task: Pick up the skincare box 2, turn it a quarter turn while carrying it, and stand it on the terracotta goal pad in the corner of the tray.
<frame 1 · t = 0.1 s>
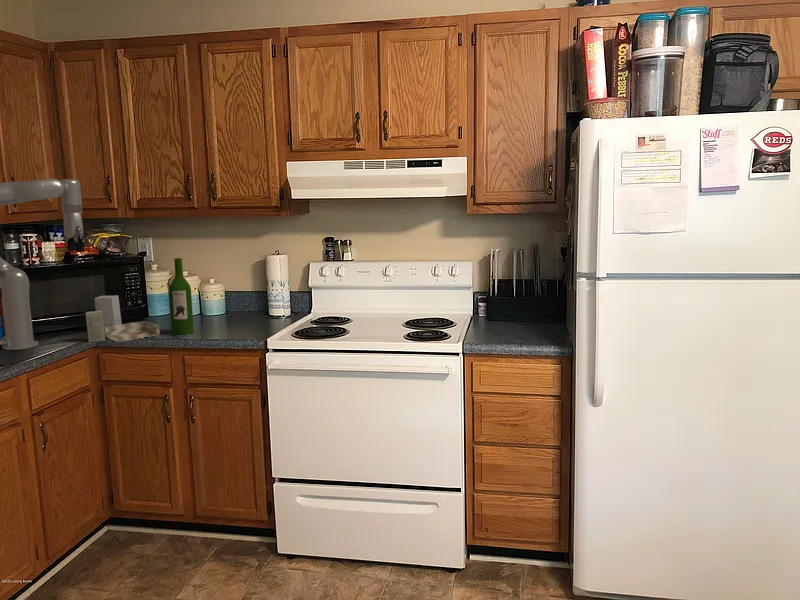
hand: (76, 251, 282), 37 cm above the table, tool pointing down, fingers open, 9 cm apart
tray: (132, 336, 289), on the table
skincare box: (109, 331, 301), on the table
skincare box 2: (96, 341, 281), on the table
wine bottle: (183, 334, 293), on the table
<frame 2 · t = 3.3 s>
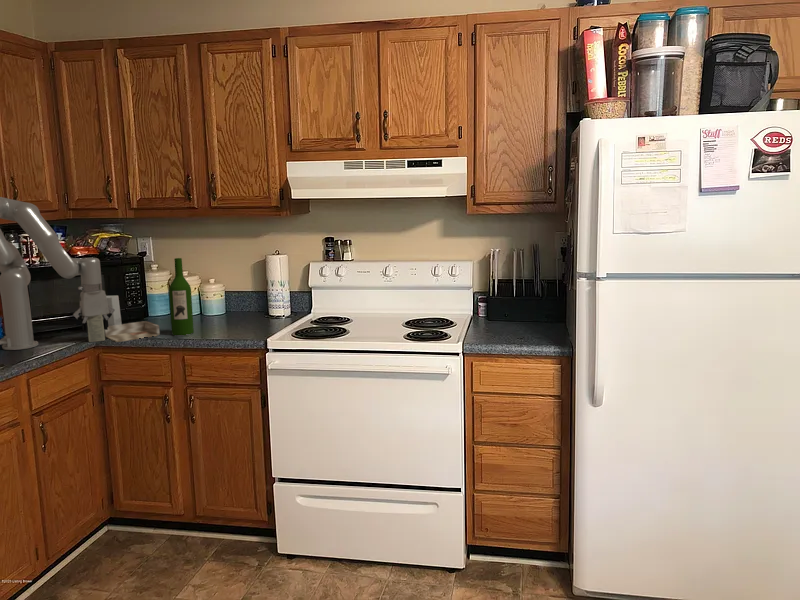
hand: (95, 330, 281), 4 cm above the table, tool pointing down, fingers closed on skincare box 2, 7 cm apart
skincare box 2: (96, 341, 281), on the table, touching gripper
everything else where it was.
when the fingers open (6 cm above the table, at t = 8.9 s): skincare box 2 drops 1 cm, resting on tray.
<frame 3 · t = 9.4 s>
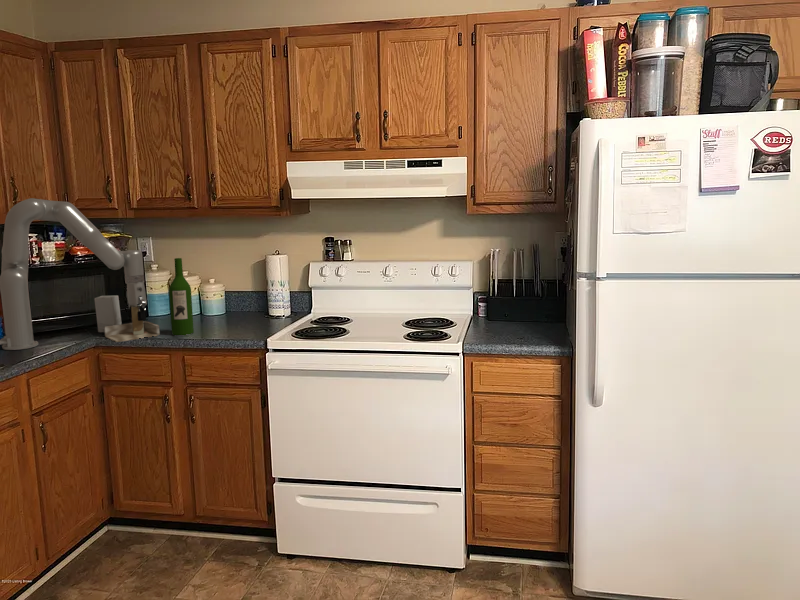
hand: (137, 318, 291), 7 cm above the table, tool pointing down, fingers open, 9 cm apart
skincare box 2: (138, 333, 292), resting on tray
everything else where it was.
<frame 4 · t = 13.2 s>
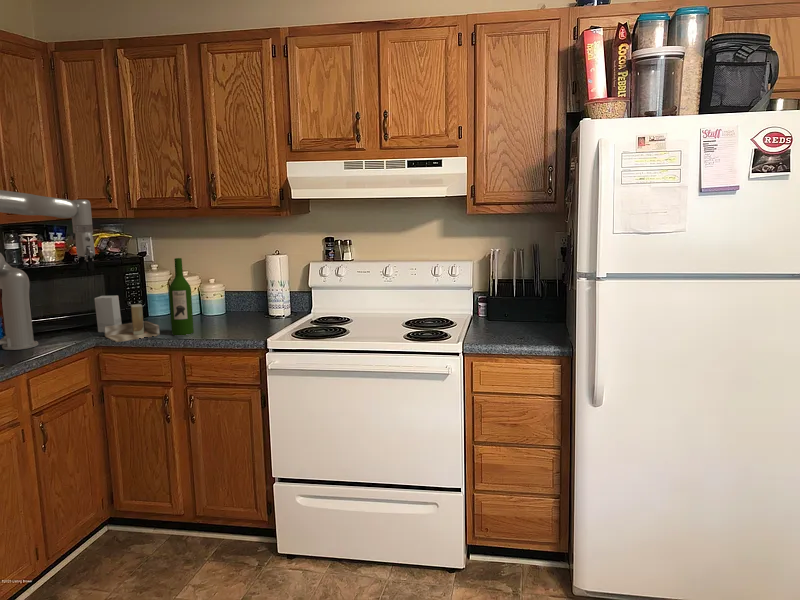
hand: (86, 270, 287), 28 cm above the table, tool pointing down, fingers open, 9 cm apart
nothing on the table moved.
at the end: skincare box 2 0.3 cm from the target spot on the tray, point 0.5 cm above the tray's base; skincare box 2 tilted 0°; the gripper is holding nothing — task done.
